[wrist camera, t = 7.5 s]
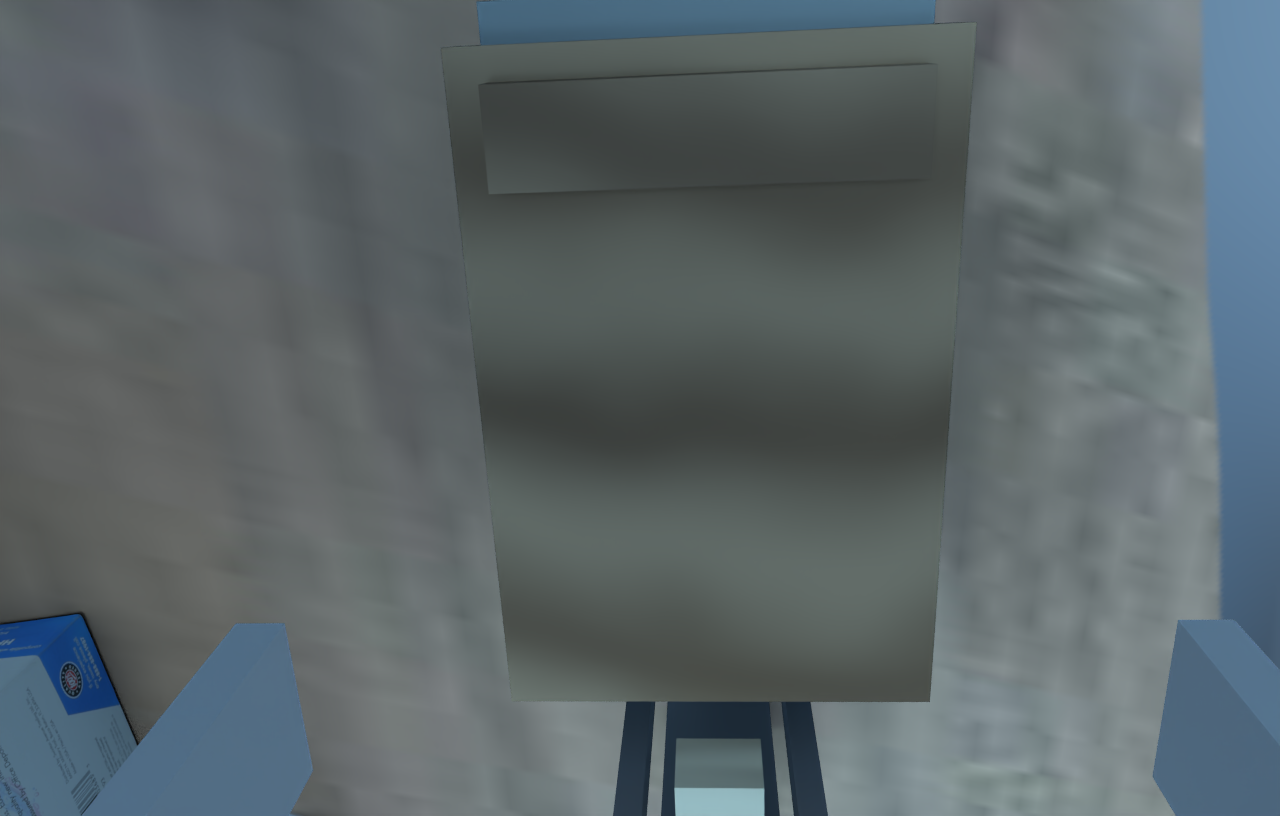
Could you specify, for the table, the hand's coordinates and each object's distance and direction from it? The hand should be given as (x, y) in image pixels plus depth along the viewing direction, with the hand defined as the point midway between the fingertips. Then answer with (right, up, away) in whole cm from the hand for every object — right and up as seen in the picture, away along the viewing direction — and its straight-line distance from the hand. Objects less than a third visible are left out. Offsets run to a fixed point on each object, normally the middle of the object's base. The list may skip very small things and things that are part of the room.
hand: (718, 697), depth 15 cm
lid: (+1, +5, +13) cm, 14 cm away
